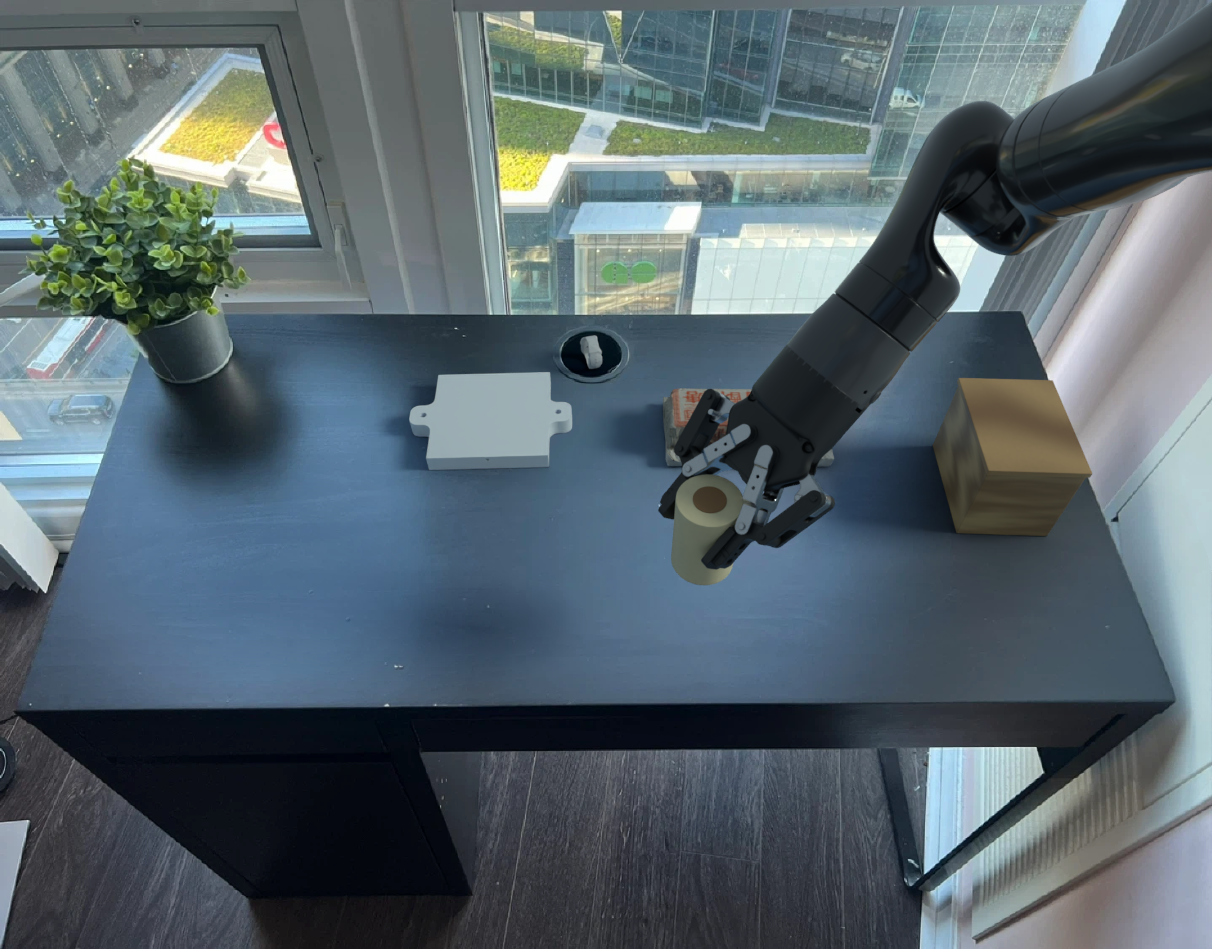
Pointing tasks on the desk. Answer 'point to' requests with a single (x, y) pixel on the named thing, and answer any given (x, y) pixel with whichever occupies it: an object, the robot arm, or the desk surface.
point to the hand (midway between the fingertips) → (687, 539)
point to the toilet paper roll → (702, 525)
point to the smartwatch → (591, 351)
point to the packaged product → (681, 409)
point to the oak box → (1008, 457)
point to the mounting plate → (490, 421)
